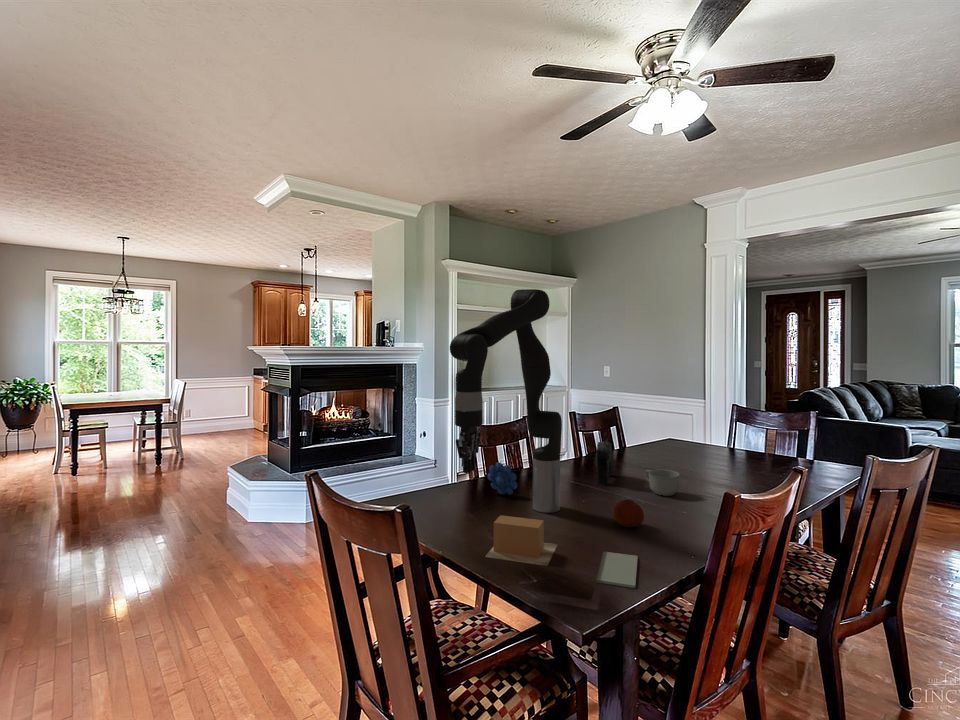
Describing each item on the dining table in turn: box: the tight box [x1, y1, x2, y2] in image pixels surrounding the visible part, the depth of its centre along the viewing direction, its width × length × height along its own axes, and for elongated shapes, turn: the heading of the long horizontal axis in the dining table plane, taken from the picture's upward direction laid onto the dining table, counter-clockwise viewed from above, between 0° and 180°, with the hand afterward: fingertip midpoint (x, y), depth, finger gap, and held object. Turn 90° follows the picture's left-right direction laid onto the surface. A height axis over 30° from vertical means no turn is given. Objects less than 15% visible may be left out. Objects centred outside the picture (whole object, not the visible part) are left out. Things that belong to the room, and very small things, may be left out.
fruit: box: [612, 499, 645, 528], centre depth 151 cm, size 9×9×8 cm
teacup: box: [643, 468, 681, 497], centre depth 186 cm, size 14×11×8 cm
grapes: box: [487, 461, 518, 495], centre depth 183 cm, size 12×7×12 cm, turn 70°
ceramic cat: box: [595, 432, 614, 486], centre depth 204 cm, size 20×6×20 cm, turn 158°
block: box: [493, 514, 545, 558], centre depth 129 cm, size 6×12×8 cm, turn 71°
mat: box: [595, 550, 639, 589], centre depth 123 cm, size 17×20×1 cm
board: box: [485, 542, 559, 567], centre depth 129 cm, size 14×16×2 cm
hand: (468, 471), depth 133 cm, fingers closed
